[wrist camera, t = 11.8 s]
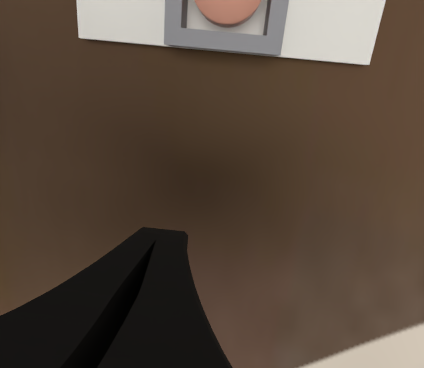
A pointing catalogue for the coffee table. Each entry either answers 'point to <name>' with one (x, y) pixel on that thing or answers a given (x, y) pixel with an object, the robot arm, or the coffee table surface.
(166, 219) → the coffee table surface
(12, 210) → the coffee table surface
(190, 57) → the coffee table surface
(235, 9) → the button
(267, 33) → the activity board
